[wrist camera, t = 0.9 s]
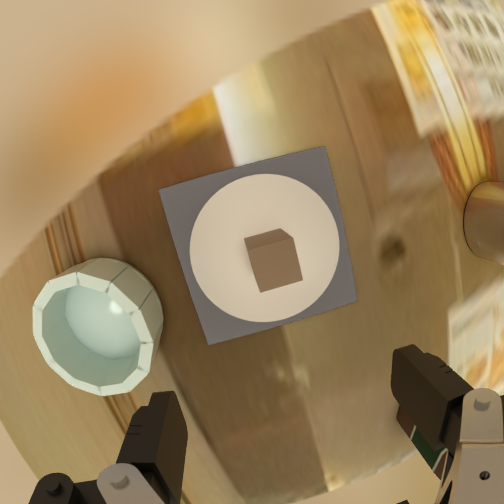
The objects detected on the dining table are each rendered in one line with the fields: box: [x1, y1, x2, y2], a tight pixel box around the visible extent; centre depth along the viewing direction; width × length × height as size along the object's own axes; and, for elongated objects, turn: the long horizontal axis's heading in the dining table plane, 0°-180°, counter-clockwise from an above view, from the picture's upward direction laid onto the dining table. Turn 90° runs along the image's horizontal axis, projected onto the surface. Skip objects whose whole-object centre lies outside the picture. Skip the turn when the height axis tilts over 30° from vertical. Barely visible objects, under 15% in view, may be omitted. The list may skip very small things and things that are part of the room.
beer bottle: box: [397, 406, 448, 480], centre depth 23 cm, size 8×8×24 cm
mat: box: [159, 146, 357, 345], centre depth 29 cm, size 15×15×1 cm
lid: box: [190, 174, 339, 322], centre depth 26 cm, size 13×13×6 cm
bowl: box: [33, 257, 164, 396], centre depth 26 cm, size 11×11×6 cm
